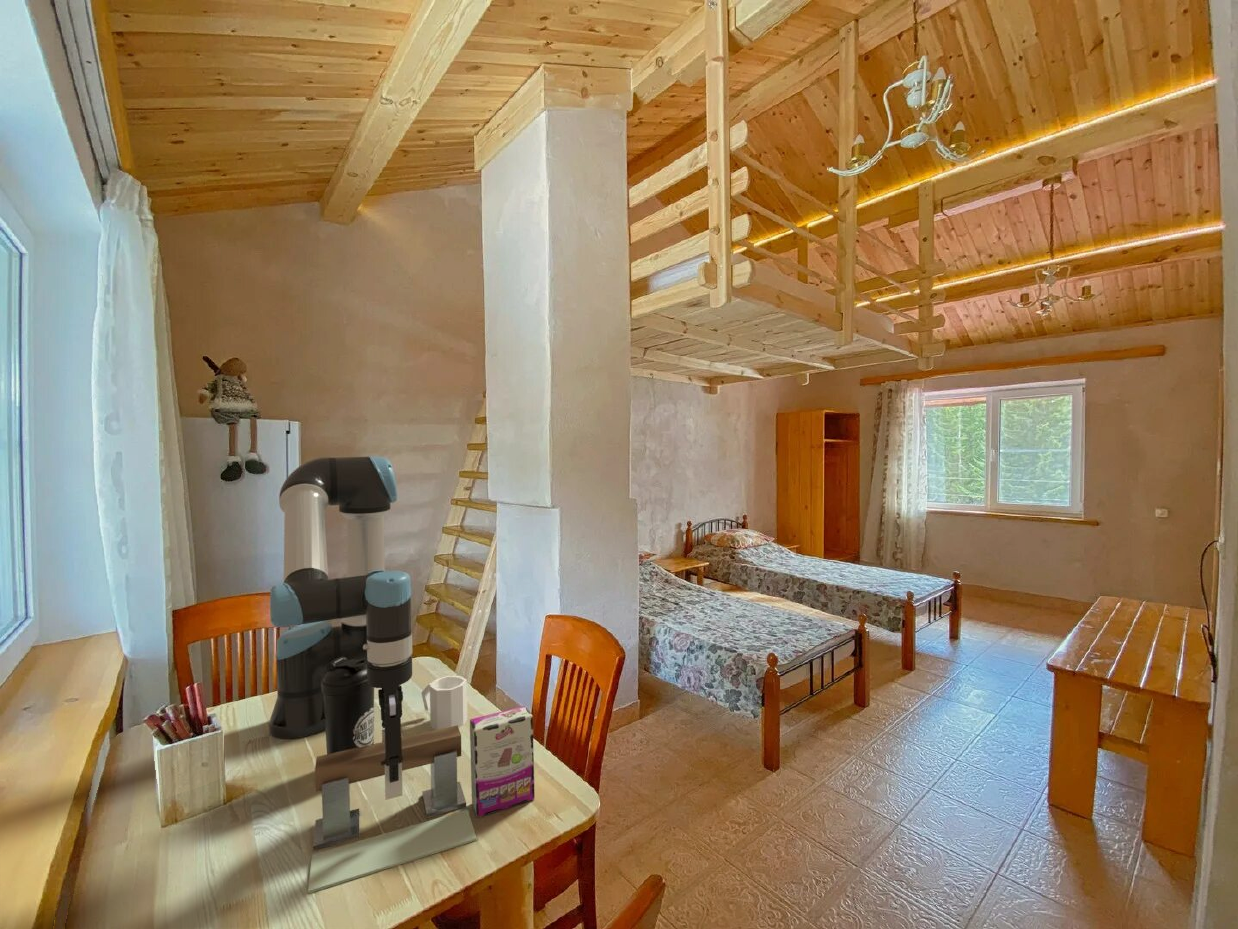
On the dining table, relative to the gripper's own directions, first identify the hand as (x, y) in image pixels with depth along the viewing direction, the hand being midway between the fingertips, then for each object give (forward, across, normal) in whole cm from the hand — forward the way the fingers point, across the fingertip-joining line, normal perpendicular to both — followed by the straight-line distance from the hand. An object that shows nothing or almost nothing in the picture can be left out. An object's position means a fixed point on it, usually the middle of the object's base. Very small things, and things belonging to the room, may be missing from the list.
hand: (392, 778), depth 98 cm
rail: (-2, 0, 0) cm, 2 cm away
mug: (+7, -31, +13) cm, 34 cm away
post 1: (+7, 0, -9) cm, 11 cm away
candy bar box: (+7, +5, +19) cm, 21 cm away
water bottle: (+7, -19, -7) cm, 21 cm away
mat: (+7, +9, 0) cm, 11 cm away
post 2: (+7, 0, +9) cm, 11 cm away
